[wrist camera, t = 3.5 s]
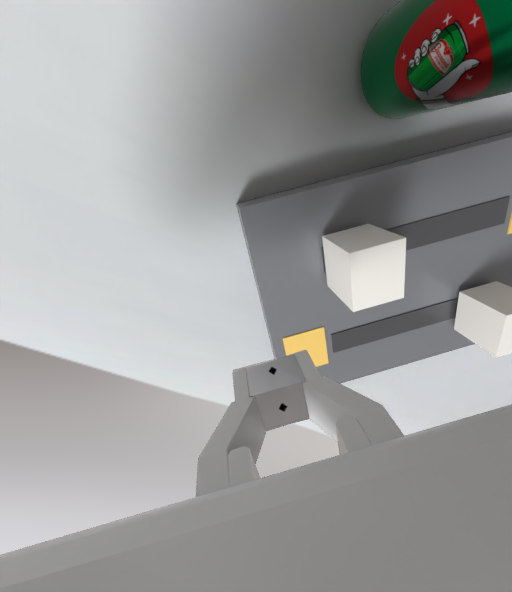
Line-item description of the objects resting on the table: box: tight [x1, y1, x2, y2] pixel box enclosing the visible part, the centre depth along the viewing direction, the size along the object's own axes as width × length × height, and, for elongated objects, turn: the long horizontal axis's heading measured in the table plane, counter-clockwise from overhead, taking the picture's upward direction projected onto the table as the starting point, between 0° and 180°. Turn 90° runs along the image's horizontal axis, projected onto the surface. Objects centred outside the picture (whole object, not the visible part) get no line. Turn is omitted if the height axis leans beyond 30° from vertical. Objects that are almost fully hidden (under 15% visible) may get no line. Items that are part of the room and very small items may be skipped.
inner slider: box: [322, 224, 406, 312], centre depth 16 cm, size 4×3×4 cm
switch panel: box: [236, 132, 512, 384], centre depth 20 cm, size 16×22×2 cm
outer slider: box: [454, 281, 512, 358], centre depth 19 cm, size 4×3×4 cm
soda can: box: [361, 0, 512, 119], centre depth 10 cm, size 5×5×12 cm
